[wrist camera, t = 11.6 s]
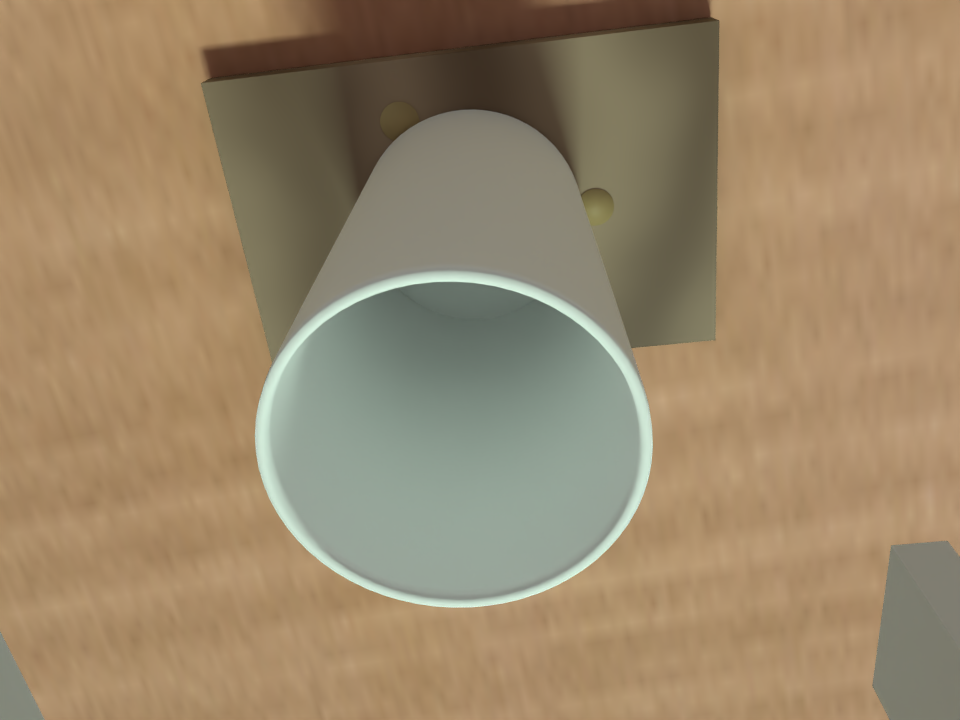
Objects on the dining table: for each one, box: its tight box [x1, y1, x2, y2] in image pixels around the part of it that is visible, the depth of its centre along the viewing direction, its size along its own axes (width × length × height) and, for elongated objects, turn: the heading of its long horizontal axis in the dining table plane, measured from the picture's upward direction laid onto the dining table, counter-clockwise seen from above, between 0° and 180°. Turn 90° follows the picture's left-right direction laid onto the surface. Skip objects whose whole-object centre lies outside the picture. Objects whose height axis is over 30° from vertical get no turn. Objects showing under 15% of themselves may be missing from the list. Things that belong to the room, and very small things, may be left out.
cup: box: [255, 109, 653, 607], centre depth 24 cm, size 8×8×16 cm
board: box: [201, 18, 719, 363], centre depth 32 cm, size 18×12×1 cm, turn 96°
